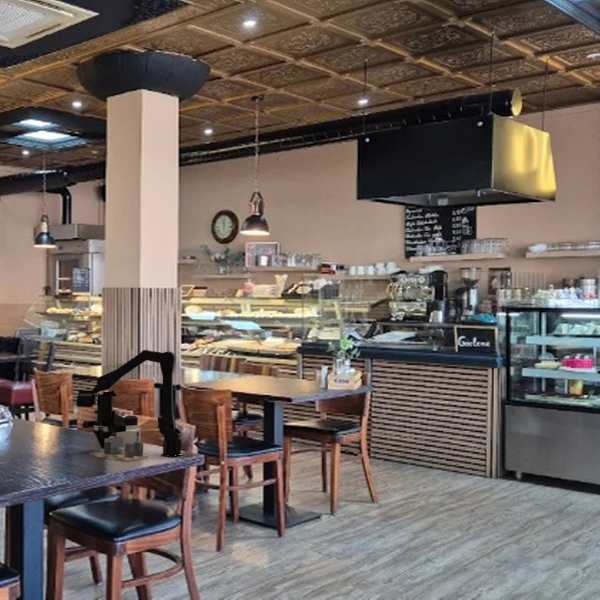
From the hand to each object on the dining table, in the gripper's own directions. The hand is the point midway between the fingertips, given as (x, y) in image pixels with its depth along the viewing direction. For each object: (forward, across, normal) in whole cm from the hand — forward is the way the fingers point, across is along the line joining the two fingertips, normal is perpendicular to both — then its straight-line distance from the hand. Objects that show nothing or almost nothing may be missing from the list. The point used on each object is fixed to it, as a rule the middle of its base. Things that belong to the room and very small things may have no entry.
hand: (103, 448), depth 304 cm
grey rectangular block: (+1, -9, +1) cm, 9 cm away
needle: (0, -8, +5) cm, 9 cm away
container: (+2, +3, -16) cm, 16 cm away
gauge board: (+2, -9, 0) cm, 9 cm away
